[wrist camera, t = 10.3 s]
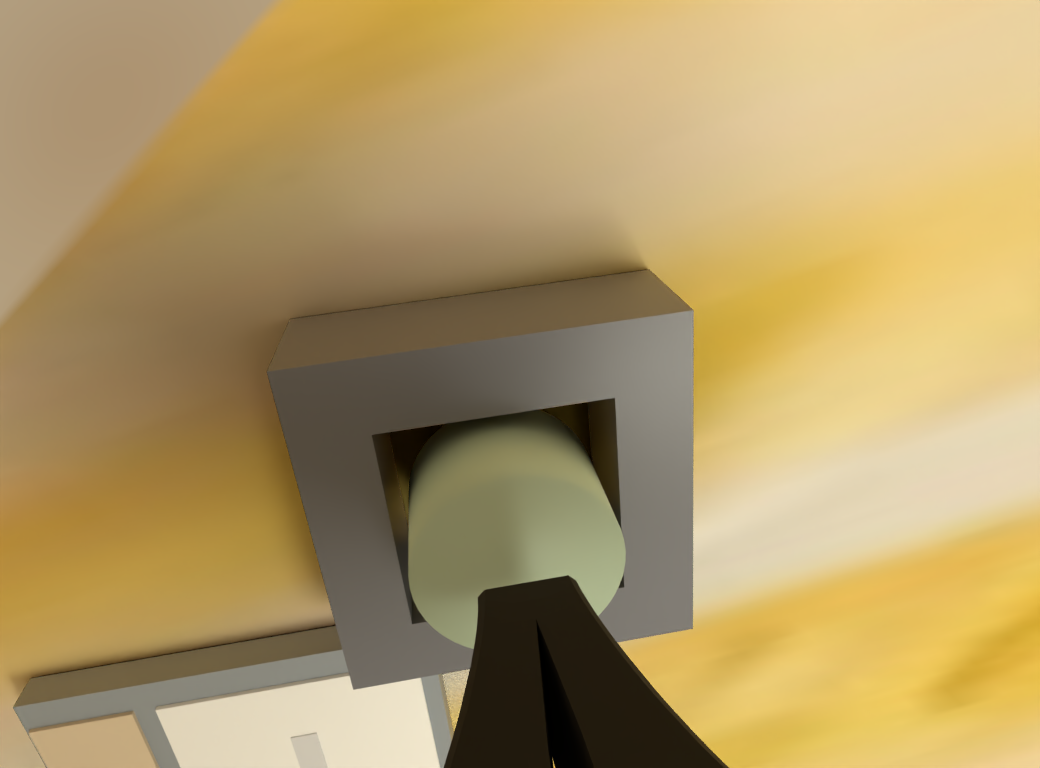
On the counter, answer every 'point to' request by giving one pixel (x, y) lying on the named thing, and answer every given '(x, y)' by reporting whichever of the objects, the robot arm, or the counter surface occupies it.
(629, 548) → the button housing
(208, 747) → the board
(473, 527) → the button
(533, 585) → the robot arm
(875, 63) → the counter surface
